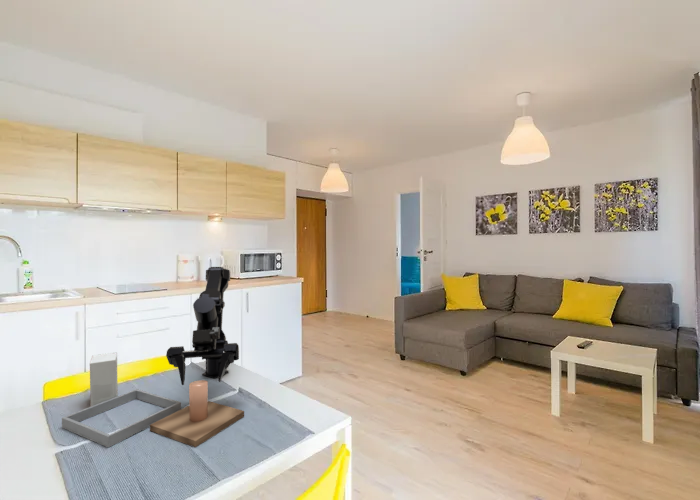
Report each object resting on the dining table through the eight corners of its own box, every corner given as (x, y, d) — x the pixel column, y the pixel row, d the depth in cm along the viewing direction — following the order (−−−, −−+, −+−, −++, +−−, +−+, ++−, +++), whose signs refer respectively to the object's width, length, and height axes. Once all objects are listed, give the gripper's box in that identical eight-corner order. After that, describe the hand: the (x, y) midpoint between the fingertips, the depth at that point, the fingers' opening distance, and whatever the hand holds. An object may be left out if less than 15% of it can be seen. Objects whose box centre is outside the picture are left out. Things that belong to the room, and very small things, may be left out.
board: (149, 430, 88) (149, 424, 88) (201, 404, 103) (201, 399, 103) (195, 447, 81) (195, 440, 81) (244, 416, 96) (244, 411, 96)
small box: (92, 398, 106) (92, 355, 106) (118, 393, 110) (117, 351, 109) (89, 409, 99) (89, 363, 99) (116, 403, 103) (116, 359, 102)
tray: (62, 427, 89) (61, 417, 89) (136, 397, 107) (136, 389, 107) (108, 447, 81) (108, 436, 81) (181, 411, 98) (181, 402, 98)
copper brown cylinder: (187, 422, 89) (187, 387, 89) (192, 414, 94) (191, 380, 93) (205, 421, 90) (205, 386, 90) (209, 412, 94) (209, 379, 94)
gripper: (167, 318, 97) (156, 373, 87) (238, 315, 102) (235, 366, 92) (174, 338, 105) (165, 390, 95) (239, 335, 110) (237, 384, 99)
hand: (201, 383), depth 95 cm, fingers open, 9 cm apart
